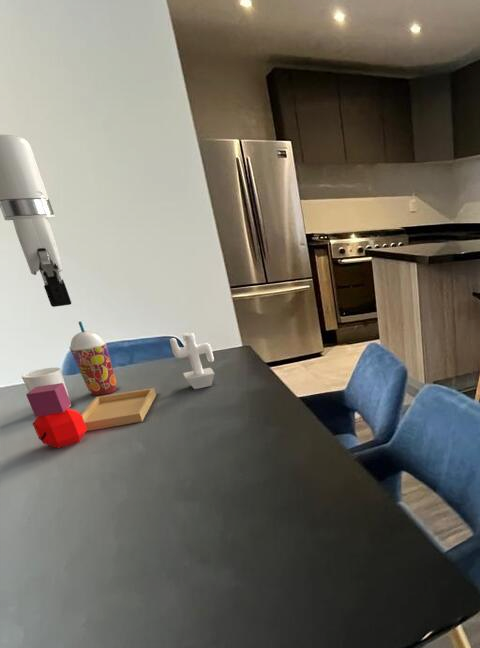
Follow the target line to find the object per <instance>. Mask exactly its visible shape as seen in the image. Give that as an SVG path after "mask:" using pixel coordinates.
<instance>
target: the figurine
mask: <svg viewBox="0 0 480 648" xmlns="http://www.w3.org/2000/svg"><path fill="white" fill-rule="evenodd" d="M182 339H183V341H184V343H185V346H181V347H180V345H179V344H178V341H177V339H176V338H175V337H171V338H170V339H169V344H170V348H171V351H172V354H173V356H174V357H175V358H177V359H182V358H189V361H190V365H191V369H192V370H191V371H187V372H182V374H183V376H184V379H185V380H186V381H187V382H188V384H189V385H190V386H191V387H192V388H193V389H194V390H198V389H203V388H207V387H212V385H213V381H214V378H215V372H214V370H213V369H212V368H211V367H206V368H203V366H202V362H201V358H200V355H204V354H205V355H206V359H207V361H208V362H209V363H213V362H214V361H215V358H214V354H213V350H212V346H211V344H210V343H208V342H203V343H198V344H197V343H196V336H195V333H194V332H191V331H190V332H184V333H183V334H182Z"/></svg>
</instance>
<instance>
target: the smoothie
mask: <svg viewBox="0 0 480 648" xmlns="http://www.w3.org/2000/svg"><path fill="white" fill-rule="evenodd" d="M78 325H79V328H80V330H81V331H80V332H78V333H76V334H75V335H74V336H73V337H72V338H71V340H70V346H69V350H70V352H71V354H72V357H73V359H74V361H75V363H76V365H77V368H78V370H79V372H80V374H81V377H82V379H83V382H84V383H85V386H86V388H87V390H88V392H90V393H91V395H93V396H105V395H109V394H111V393H113V392H115V391H116V390H117V386H118V383H117V380H116V375H115V372H114V368H113V364H112V360H111V357H110V356H111V355H110V353H109V349H108V345H107V341H106V340H104V339H103V337H101V335H100V334H98V333H96V332H93V331H88V330H87V331H86V330H85V328H84V325H83V323H82V321H78Z"/></svg>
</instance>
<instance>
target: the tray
mask: <svg viewBox="0 0 480 648" xmlns="http://www.w3.org/2000/svg"><path fill="white" fill-rule="evenodd" d="M156 396H157V393H156V390H155V387H152V388H145V389H140V390H139V389H137V390H131V391H126V392H119V393H114V394H105V395H99V396H95V398H94V399H93V400H92V401H91V402H90V404H89V405H88V406H87V407H86V408H85V409H84V411H82V412H81V413H80V414H81V415H82V417H83V420H84V422H85V425H86V428H87V431H86V432H89V431H90V432H91V431H95V430H102V429H106V428H113V427H117V426H118V427H119V426H124V425H131V424H134V423H141V422H143V421H144V419H145V417H146V415H147V413H148V412H149V410H150V408H151V406H152V403H153V402H154V401H155V398H156Z"/></svg>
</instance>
